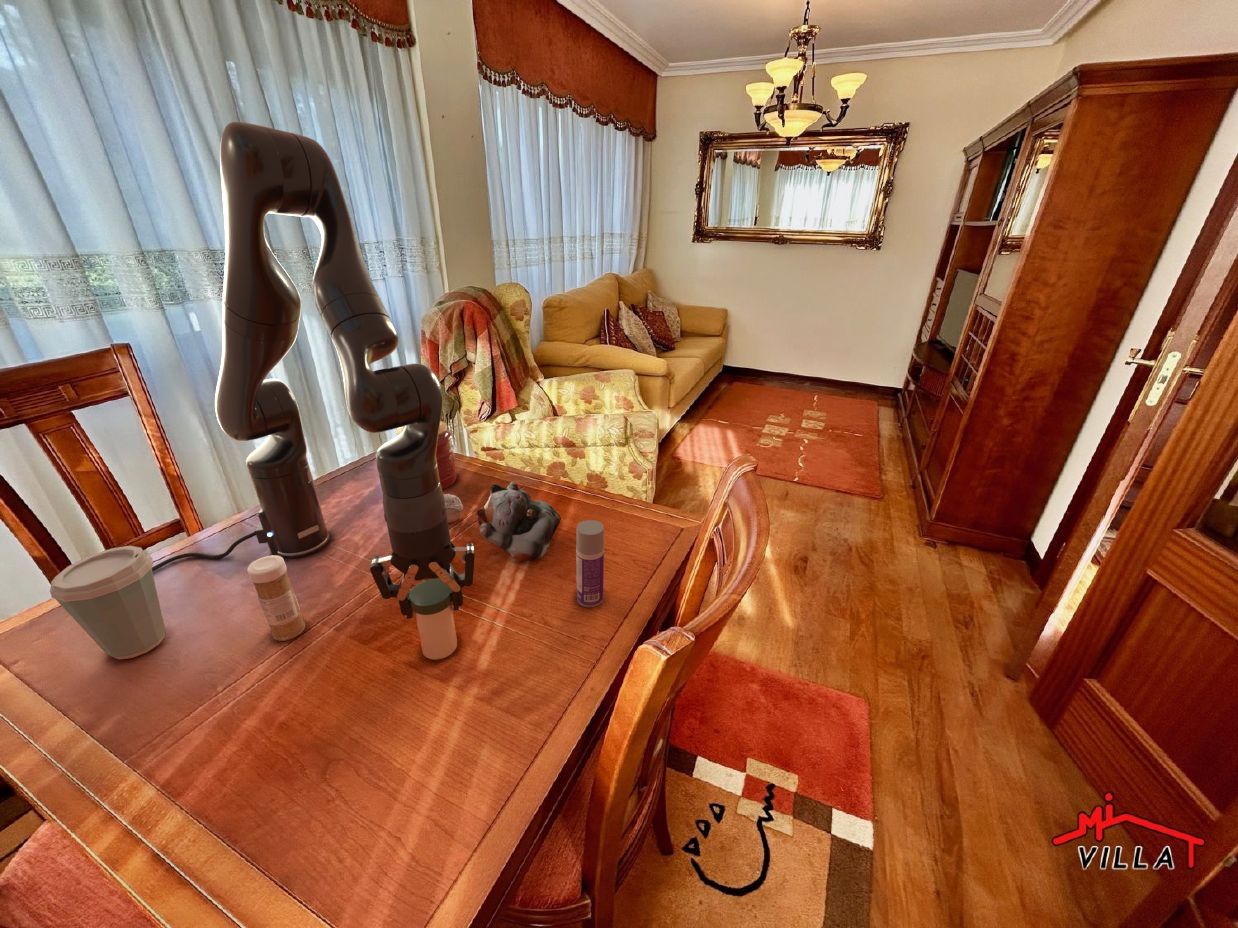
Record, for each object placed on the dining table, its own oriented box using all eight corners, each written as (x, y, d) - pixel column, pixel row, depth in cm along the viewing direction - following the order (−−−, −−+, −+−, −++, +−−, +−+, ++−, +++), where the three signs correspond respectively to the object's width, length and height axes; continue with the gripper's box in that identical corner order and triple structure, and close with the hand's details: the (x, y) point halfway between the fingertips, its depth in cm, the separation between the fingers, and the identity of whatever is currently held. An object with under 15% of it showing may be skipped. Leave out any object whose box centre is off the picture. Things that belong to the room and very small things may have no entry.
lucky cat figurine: (537, 570, 94) (495, 518, 88) (494, 570, 101) (452, 522, 95) (571, 514, 104) (536, 464, 98) (531, 518, 111) (495, 471, 105)
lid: (408, 618, 70) (406, 609, 69) (412, 590, 75) (410, 581, 74) (452, 611, 72) (451, 602, 71) (453, 584, 77) (452, 575, 76)
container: (607, 594, 89) (609, 523, 83) (595, 610, 85) (596, 538, 79) (584, 586, 91) (584, 516, 84) (571, 602, 87) (570, 530, 81)
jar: (421, 662, 75) (410, 609, 70) (423, 637, 79) (413, 585, 74) (457, 655, 76) (449, 603, 71) (457, 631, 80) (449, 580, 76)
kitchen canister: (391, 490, 120) (377, 422, 112) (419, 466, 131) (409, 403, 123) (442, 496, 118) (432, 427, 110) (466, 471, 129) (458, 407, 121)
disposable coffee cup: (79, 681, 70) (25, 598, 63) (106, 629, 78) (61, 552, 72) (175, 655, 74) (134, 575, 68) (190, 609, 83) (156, 534, 76)
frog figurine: (434, 531, 105) (429, 503, 102) (436, 514, 111) (432, 486, 108) (464, 528, 106) (460, 500, 103) (465, 511, 112) (461, 484, 109)
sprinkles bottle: (306, 617, 82) (284, 550, 76) (304, 636, 78) (281, 568, 72) (274, 626, 80) (248, 558, 74) (270, 646, 76) (243, 576, 70)
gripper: (471, 494, 72) (482, 586, 79) (362, 506, 68) (384, 601, 76) (473, 522, 65) (484, 619, 73) (352, 537, 62) (377, 638, 69)
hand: (433, 610), depth 74 cm, fingers closed on lid, 6 cm apart
